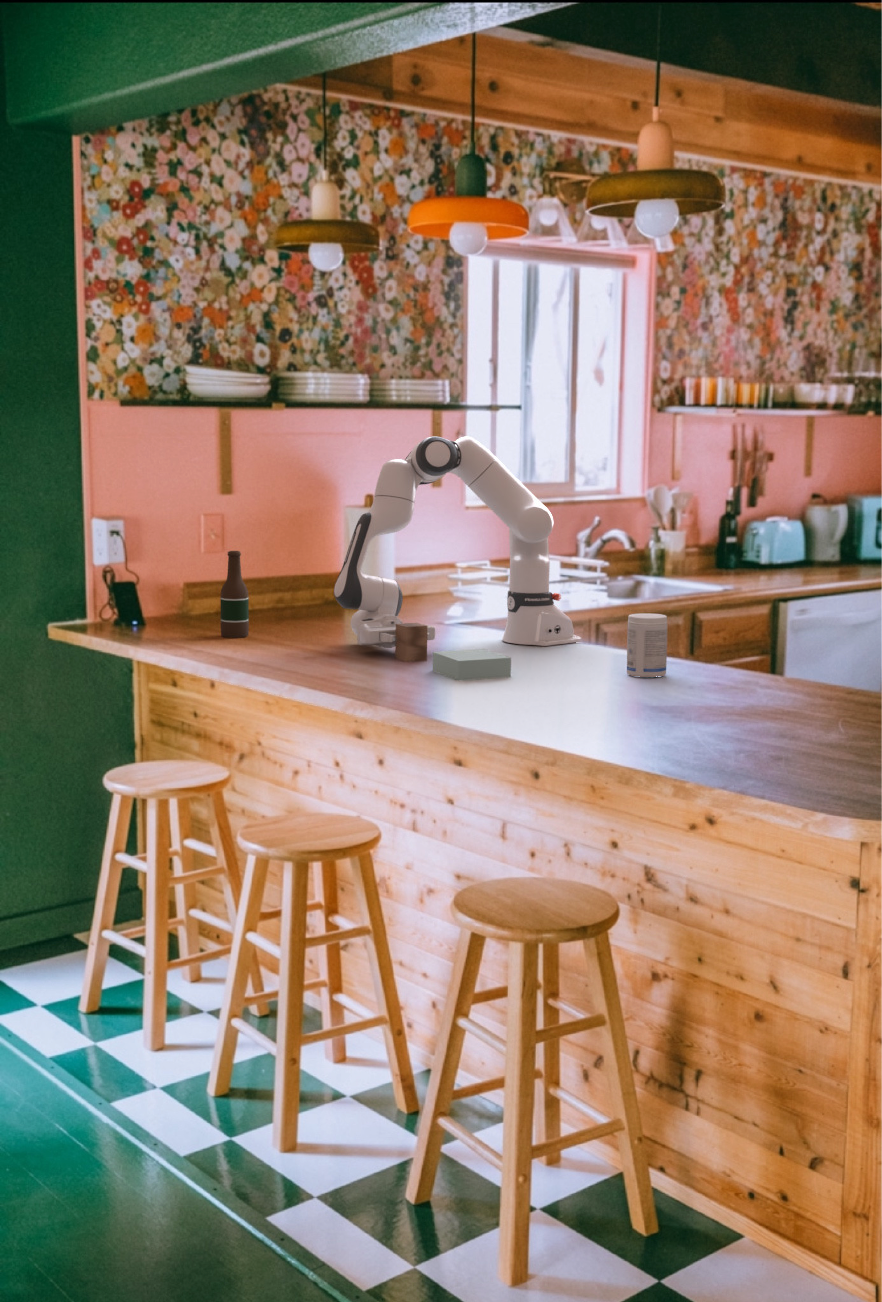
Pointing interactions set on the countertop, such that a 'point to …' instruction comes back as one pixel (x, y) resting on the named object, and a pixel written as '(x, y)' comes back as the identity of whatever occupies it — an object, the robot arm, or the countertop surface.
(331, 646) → the countertop surface
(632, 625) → the supplement tub
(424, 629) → the walnut box
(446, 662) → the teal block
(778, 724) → the countertop surface
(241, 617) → the beer bottle
